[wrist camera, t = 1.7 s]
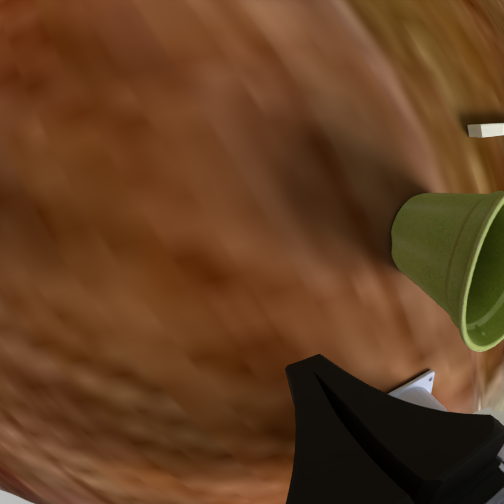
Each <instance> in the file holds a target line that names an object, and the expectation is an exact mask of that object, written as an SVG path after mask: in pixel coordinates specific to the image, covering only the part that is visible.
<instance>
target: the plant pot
mask: <svg viewBox="0 0 504 504" xmlns="http://www.w3.org/2000/svg"><path fill="white" fill-rule="evenodd" d="M391 236H392V252H391V254H392V258H393V261H394V263H395V264H396V266H397V268H398V269H399V270H400V271H401V272H403V273H404V274H405V275H406V276H407V277H408V278H409V279H411V280H412V281H413V282H414V283H415V284H416V285H418V286H419V287H420V288H421V289H422V290H423V291H424V292H425V293H427V294H428V295H429V296H430V297H431V298H432V299H433V300H434V301H435V302H436V303H437V304H438V305H440V306H441V307H442V308H443V309H444V310H445V311H446V312H447V313H448V314H449V315H450V317H451V319H452V321H453V322H454V324H455V325H456V326H457V327H458V328H459V331H460V335H461V338H462V340H463V342H464V343H465V344H466V346H468V347H469V348H470V349H471V350H473V351H479V352H480V351H486V350H488V349H490V348H492V347H494V346H495V345H496V344H498V343H499V342H500V341H501V340H502V339H504V191H496V192H493V193H491V194H454V193H423V194H419V195H416V196H413V197H411V198H410V199H409V200H408V201H407V202H405V204H404V205H403V206H402V207H401V209H400V210H399V212H398V214H397V216H396V218H395V220H394V223H393V226H392V230H391Z"/></svg>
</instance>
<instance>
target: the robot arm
mask: <svg viewBox="0 0 504 504" xmlns="http://www.w3.org/2000/svg"><path fill="white" fill-rule="evenodd" d="M285 371H286V375H287V379H288V383H289V387H290V391H291V395H292V399H293V403H294V405H295V417H296V442H295V455H294V464H293V471H292V477H291V482H290V487H289V492H288V497H287V501H286V504H504V426H503V425H502V424H501V423H500V422H499V421H498V420H497V419H495V418H494V417H493V416H491V415H480V414H462V413H454V412H448V411H447V410H446V409H445V407H444V406H443V405H442V404H441V403H440V402H439V401H438V400H437V399H436V398H435V397H434V396H433V395H432V394H431V390H432V385H433V380H434V374H435V372H434V371H433V370H429V371H428V372H426V373H424V374H423V375H421V376H419V377H417V378H416V379H414V380H412V381H410V382H409V383H407V384H405V385H403V386H401V387H399V388H398V389H396V390H394V391H392V392H390V393H388V394H386V393H384V392H382V391H380V390H378V389H376V388H374V387H372V386H370V385H368V384H366V383H364V382H363V381H361V380H359V379H357V378H356V377H354V376H352V375H351V374H349V373H347V372H346V371H344V370H343V369H341V368H340V367H338V366H337V365H335V364H334V363H332V362H331V361H330V360H328V359H327V358H325V357H324V356H323V355H321V354H318V355H315V356H312V357H310V358H307V359H304V360H302V361H299V362H296V363H293V364H291V365H288V366H287V367H286V368H285Z"/></svg>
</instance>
